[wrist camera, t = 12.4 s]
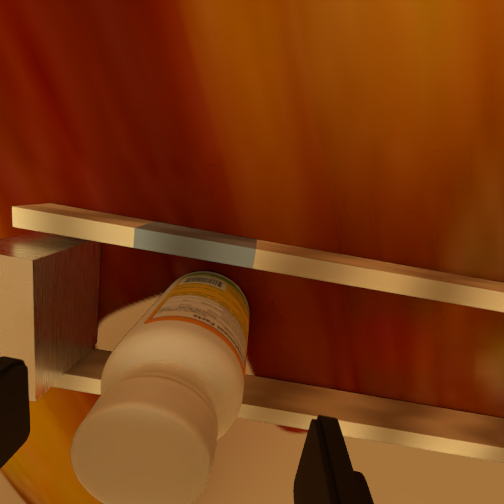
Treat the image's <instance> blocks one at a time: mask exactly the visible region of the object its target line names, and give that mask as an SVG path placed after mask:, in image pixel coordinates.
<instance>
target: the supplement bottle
mask: <svg viewBox="0 0 504 504" xmlns="http://www.w3.org/2000/svg"><path fill="white" fill-rule="evenodd" d="M248 331H249V306H248V303H247V300H246V297H245V295H244V293H243V292H242V290H241V289H240V288H239V287H238V285H237V284H235V283H234V282H233V281H232V280H230V279H229V278H227V277H225V276H223V275H221V274H218V273H215V272H210V271H197V272H192V273H189V274H186V275H184V276H182V277H180V278H179V279H177V280H176V281H175V282H173V283H172V284H171V285H170V286H169V287H168V289H167V290H166V291H165V292H164V293H163V294H162V295H161V296H160V297H159V299H158V300H157V301H156V302H155V303H154V304H153V305H152V307H151V308H150V309H149V310H148V311H147V312H146V313H145V314H144V315H143V317H142V318H141V319H140V320H139V321H138V322H137V323H136V325H135V326H134V327H133V328H132V329H131V330H130V331H129V332H128V333H127V334H126V335H125V337H124V338H123V339H122V340H121V341H120V343H119V344H118V345H117V347H116V348H115V349H114V350H113V352H112V353H111V355H110V356H109V358H108V360H107V362H106V364H105V367H104V370H103V373H102V378H101V389H100V391H101V396H100V397H99V398H98V400H97V401H96V403H95V405H94V406H93V408H92V409H91V410H90V412H89V413H88V415H87V416H86V417H85V419H84V420H83V422H82V423H81V425H80V426H79V427H78V429H77V431H76V433H75V435H74V438H73V441H72V445H71V462H72V466H73V469H74V472H75V474H76V476H77V478H78V480H79V481H80V483H81V484H82V485H83V487H84V488H85V489H86V490H87V491H88V492H89V493H90V494H91V495H92V496H93V497H94V498H96V499H97V500H99V501H100V502H102V503H103V504H191V503H192V502H193V501H195V500H196V499H197V498H198V497H199V495H200V494H201V493H202V492H203V490H204V489H205V487H206V485H207V483H208V481H209V478H210V475H211V471H212V466H213V460H214V455H215V449H216V444H217V440H219V439H220V438H221V437H222V436H223V435H224V434H225V433H226V432H227V431H228V430H229V429H230V428H231V426H232V425H233V423H234V422H235V419H236V418H237V416H238V413H239V411H240V408H241V404H242V399H243V391H244V380H245V366H246V356H247V344H248Z"/></svg>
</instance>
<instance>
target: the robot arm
mask: <svg viewBox="0 0 504 504" xmlns="http://www.w3.org/2000/svg"><path fill="white" fill-rule="evenodd" d="M29 433H30V412H29V385H28V367H27V366H26V365H25V362H24V361H23V360H21V359H17V358H11V357H6V356H2V357H0V468H1V467H2V466H3V465H4V464H5V463H6V462H7V461H8V460H9V459H10V458H11V457H12V456H13V455H14V454H15V452H16V451H17V450H18V449H19V448H20V447H21V446H22V445H23V444H24V443H25V441H26V440H27V438H28V436H29ZM294 504H374V503H373V500H372V497H371V494H370V491H369V488H368V485H367V482H366V480H365V477H364V476H363V474H362V473H360V472H357V471H353V468H352V465H351V461H350V458H349V455H348V452H347V448H346V445H345V442H344V438H343V435H342V431H341V428H340V425H339V422H338V419H337V418H334V417H328V416H323V415H318V417H317V419H312V420H311V422H310V426H309V430H308V433H307V437H306V441H305V444H304V448H303V451H302V455H301V459H300V462H299V466H298V470H297V473H296V477H295V481H294Z"/></svg>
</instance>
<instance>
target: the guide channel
mask: <svg viewBox="0 0 504 504" xmlns="http://www.w3.org/2000/svg"><path fill="white" fill-rule="evenodd" d="M12 221H13V227H17V228H23V229H29V230H34V231H37V232H33V233H28V234H23V235H18V236H13V237H9V238H4V239H0V357H2V356H6V357H11V358H17V359H21V360H23V361H24V362H25V365H26V366H27V367H28V385H29V400H30V401H37V400H38V399H39V398H40V397H41V396H42V395H43V394H44V393H45V392H46V391H47V390H48V389H49V388H50V387H51V386H52V387H58V388H64V389H70V390H75V391H81V392H87V393H93V394H99V395H101V391H100V389H101V378H102V373H103V370H104V367H105V364H106V362H107V360H108V358H109V356H110V355H111V353H112V352H111V351H105V350H99V349H93V348H92V347H93V346H94V345H95V344H96V343H97V332H98V307H99V282H100V257H101V242H103V243H109V244H115V245H121V246H126V247H132V248H138V249H144V250H149V251H155V252H161V253H166V254H172V255H178V256H184V257H189V258H195V259H201V260H207V261H212V262H218V263H224V264H230V265H235V266H241V267H247V268H253V269H258V270H264V271H270V272H276V273H281V274H287V275H293V276H298V277H304V278H310V279H316V280H321V281H327V282H333V283H339V284H344V285H350V286H356V287H362V288H367V289H373V290H379V291H385V292H390V293H396V294H402V295H408V296H413V297H419V298H425V299H430V300H436V301H442V302H448V303H453V304H459V305H465V306H471V307H476V308H482V309H488V310H494V311H499V312H504V283H503V282H497V281H491V280H486V279H480V278H474V277H469V276H463V275H457V274H451V273H446V272H440V271H434V270H429V269H423V268H417V267H412V266H406V265H400V264H394V263H389V262H383V261H377V260H372V259H366V258H360V257H355V256H349V255H343V254H337V253H332V252H326V251H320V250H315V249H309V248H303V247H297V246H292V245H286V244H280V243H275V242H269V241H263V240H258V239H252V238H246V237H240V236H235V235H229V234H223V233H218V232H212V231H206V230H201V229H195V228H189V227H183V226H178V225H172V224H166V223H161V222H155V221H149V220H143V219H138V218H132V217H126V216H121V215H115V214H109V213H104V212H98V211H92V210H86V209H81V208H75V207H69V206H64V205H58V204H52V203H47V204H35V205H24V206H12ZM318 415H323V416H328V417H334V418H337V419H338V422H339V425H340V428H341V431H342V435H343V436H348V437H354V438H360V439H367V440H372V441H378V442H384V443H390V444H396V445H402V446H408V447H414V448H420V449H425V450H432V451H438V452H443V453H449V454H455V455H461V456H467V457H473V458H479V459H485V460H491V461H497V462H503V463H504V418H498V417H493V416H487V415H481V414H475V413H469V412H463V411H457V410H451V409H446V408H440V407H434V406H428V405H422V404H416V403H410V402H404V401H399V400H393V399H387V398H381V397H375V396H369V395H363V394H357V393H352V392H346V391H340V390H334V389H328V388H322V387H316V386H310V385H305V384H299V383H293V382H287V381H281V380H275V379H269V378H263V377H258V376H252V375H245V380H244V391H243V399H242V404H241V408H240V411H239V413H238V416H237V418H242V419H247V420H253V421H259V422H265V423H271V424H277V425H283V426H289V427H295V428H301V429H307V430H309V426H310V422H311V420H312V419H317V417H318Z"/></svg>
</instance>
